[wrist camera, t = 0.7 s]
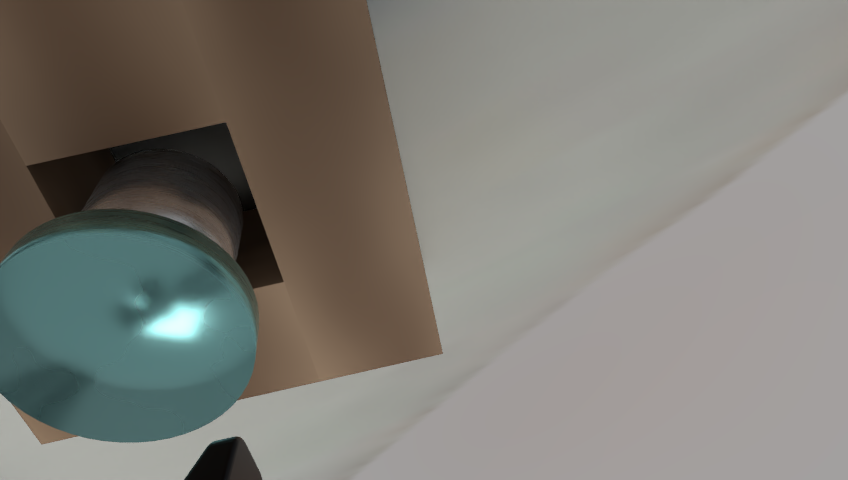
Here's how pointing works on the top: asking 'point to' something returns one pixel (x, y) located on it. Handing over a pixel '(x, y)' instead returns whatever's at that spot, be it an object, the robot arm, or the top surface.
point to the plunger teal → (132, 305)
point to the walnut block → (257, 150)
